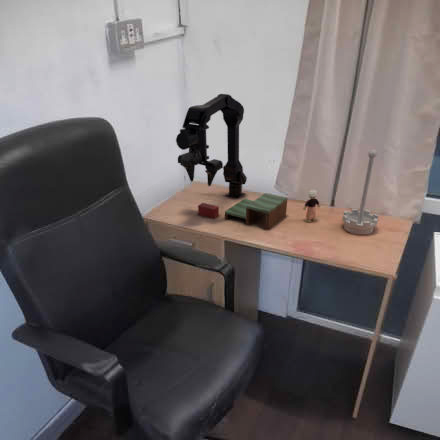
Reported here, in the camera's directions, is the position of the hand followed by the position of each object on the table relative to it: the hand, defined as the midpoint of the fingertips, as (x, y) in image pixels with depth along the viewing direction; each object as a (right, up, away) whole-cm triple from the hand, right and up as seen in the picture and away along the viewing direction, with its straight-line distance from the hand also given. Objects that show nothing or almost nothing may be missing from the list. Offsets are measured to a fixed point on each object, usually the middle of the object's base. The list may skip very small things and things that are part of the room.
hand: (200, 183), depth 166 cm
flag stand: (+62, -18, -3) cm, 64 cm away
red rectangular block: (+3, -11, +9) cm, 14 cm away
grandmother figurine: (+44, -14, +3) cm, 46 cm away
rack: (+22, -12, +6) cm, 26 cm away
